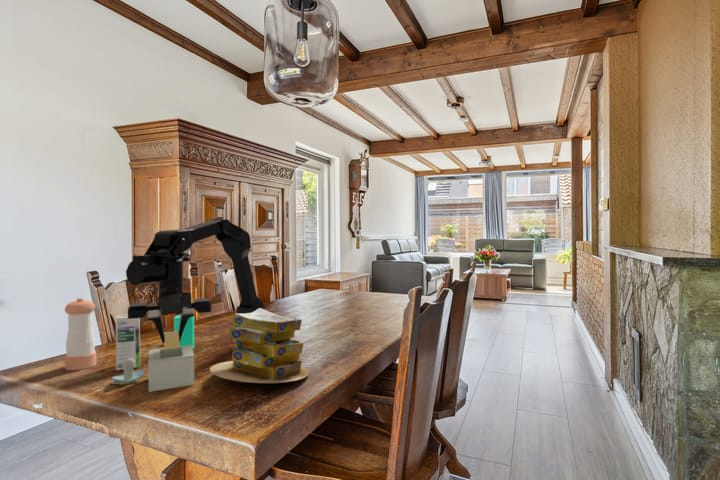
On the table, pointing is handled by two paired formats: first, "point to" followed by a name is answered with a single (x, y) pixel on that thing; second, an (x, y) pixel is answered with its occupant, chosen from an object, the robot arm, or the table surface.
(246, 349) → the stacked boxes on plate
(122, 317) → the syrup box
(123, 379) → the pacifier
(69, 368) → the pepper shaker
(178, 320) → the candle
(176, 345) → the rectangular block
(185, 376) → the coin box
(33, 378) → the table surface
